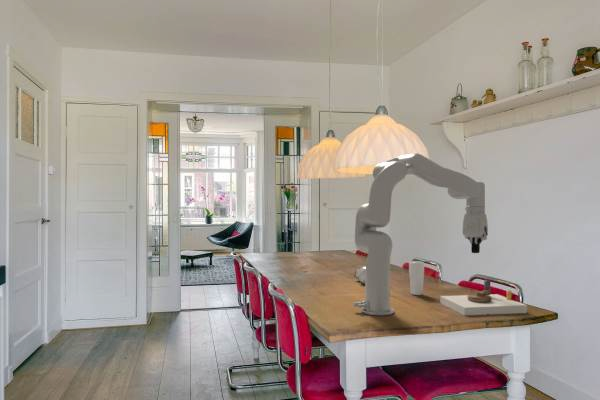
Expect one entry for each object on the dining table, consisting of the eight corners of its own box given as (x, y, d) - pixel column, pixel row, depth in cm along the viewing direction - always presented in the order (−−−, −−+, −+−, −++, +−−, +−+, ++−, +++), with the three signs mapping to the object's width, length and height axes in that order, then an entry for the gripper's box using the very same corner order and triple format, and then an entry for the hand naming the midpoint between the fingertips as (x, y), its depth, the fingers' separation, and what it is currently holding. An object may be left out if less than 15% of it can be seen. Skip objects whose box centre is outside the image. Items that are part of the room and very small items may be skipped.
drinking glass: (412, 292, 212) (412, 260, 212) (426, 294, 207) (426, 261, 207) (406, 294, 206) (406, 262, 206) (420, 296, 202) (420, 263, 202)
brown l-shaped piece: (486, 303, 175) (487, 286, 175) (464, 300, 181) (464, 283, 181) (499, 297, 186) (499, 281, 186) (477, 294, 192) (477, 278, 192)
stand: (464, 315, 170) (464, 298, 170) (440, 303, 190) (440, 287, 190) (526, 312, 174) (526, 296, 174) (496, 301, 193) (497, 286, 193)
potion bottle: (369, 288, 226) (357, 286, 240) (383, 276, 229) (370, 275, 243) (358, 274, 225) (347, 273, 240) (372, 262, 228) (360, 261, 242)
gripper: (455, 210, 198) (455, 251, 198) (484, 211, 185) (484, 255, 185) (467, 209, 202) (467, 250, 202) (496, 210, 189) (496, 254, 189)
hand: (475, 252), depth 194 cm, fingers closed
